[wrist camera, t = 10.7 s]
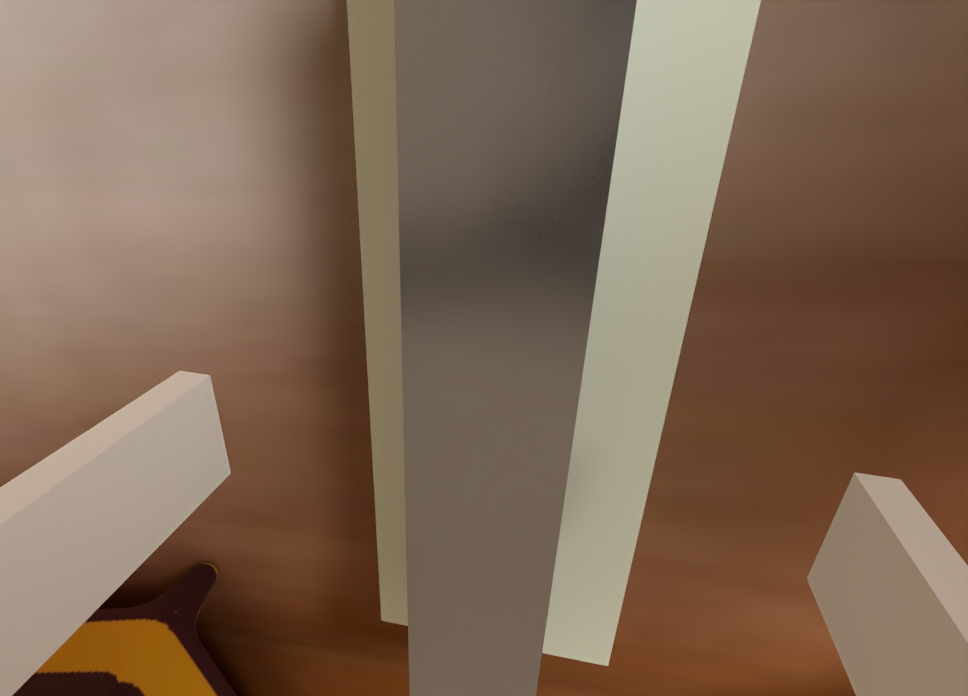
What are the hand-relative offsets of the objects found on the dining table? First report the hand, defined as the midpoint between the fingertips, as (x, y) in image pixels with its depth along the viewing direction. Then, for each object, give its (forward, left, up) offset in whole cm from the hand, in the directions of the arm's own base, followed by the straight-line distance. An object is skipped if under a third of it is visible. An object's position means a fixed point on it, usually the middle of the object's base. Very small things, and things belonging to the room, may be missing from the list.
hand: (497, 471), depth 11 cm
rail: (0, 0, -6) cm, 6 cm away
